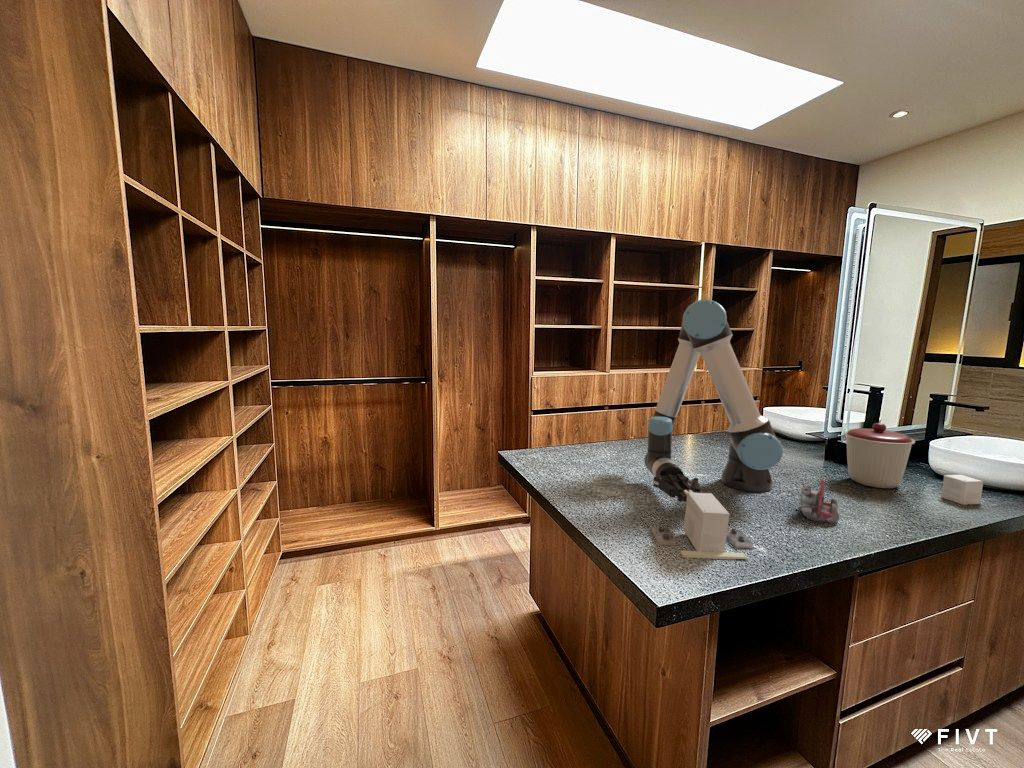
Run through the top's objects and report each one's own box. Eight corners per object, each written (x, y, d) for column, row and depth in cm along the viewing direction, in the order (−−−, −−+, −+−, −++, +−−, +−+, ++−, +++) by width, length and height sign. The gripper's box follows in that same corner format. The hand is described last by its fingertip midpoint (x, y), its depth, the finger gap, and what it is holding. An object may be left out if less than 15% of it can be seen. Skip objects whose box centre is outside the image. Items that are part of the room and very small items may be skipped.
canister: (905, 497, 131) (913, 431, 129) (834, 482, 145) (839, 422, 142) (912, 484, 143) (919, 423, 141) (846, 471, 157) (851, 415, 154)
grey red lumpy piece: (851, 522, 109) (819, 481, 112) (807, 537, 115) (779, 497, 118) (851, 508, 117) (822, 470, 121) (811, 522, 124) (784, 485, 127)
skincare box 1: (726, 554, 97) (730, 513, 95) (697, 553, 98) (701, 512, 96) (708, 529, 108) (712, 492, 106) (682, 529, 108) (686, 491, 106)
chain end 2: (739, 534, 107) (739, 527, 107) (753, 548, 100) (753, 541, 100) (723, 533, 108) (723, 527, 107) (735, 547, 101) (736, 540, 100)
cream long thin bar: (742, 555, 97) (742, 552, 97) (746, 559, 95) (747, 557, 95) (680, 553, 98) (680, 550, 98) (683, 557, 96) (683, 555, 96)
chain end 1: (667, 531, 109) (667, 525, 108) (676, 545, 102) (676, 538, 101) (651, 531, 109) (652, 524, 109) (659, 544, 102) (659, 537, 102)
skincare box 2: (981, 504, 126) (984, 481, 125) (962, 505, 126) (965, 481, 125) (958, 496, 132) (961, 474, 131) (940, 497, 132) (943, 474, 131)
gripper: (689, 485, 130) (723, 519, 107) (645, 485, 131) (668, 518, 107) (690, 462, 129) (724, 490, 106) (645, 461, 130) (669, 489, 107)
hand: (696, 504), depth 107 cm, fingers closed, pressing on skincare box 1
